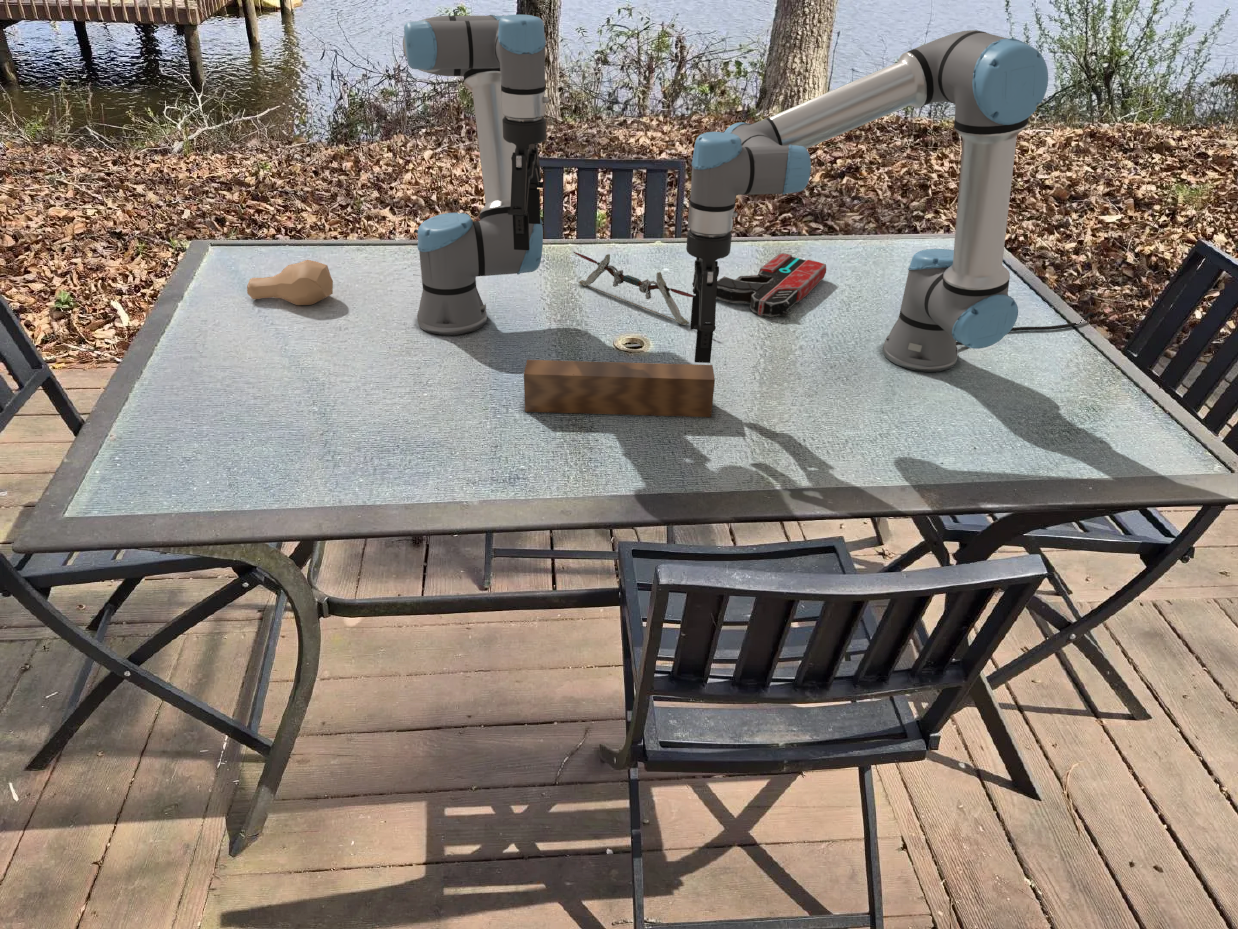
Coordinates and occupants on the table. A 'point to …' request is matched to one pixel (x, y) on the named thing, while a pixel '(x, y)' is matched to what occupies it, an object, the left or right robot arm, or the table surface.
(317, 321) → the table surface
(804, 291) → the gun
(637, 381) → the bar
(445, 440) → the table surface
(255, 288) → the squash
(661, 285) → the bow
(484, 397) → the table surface
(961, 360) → the table surface
